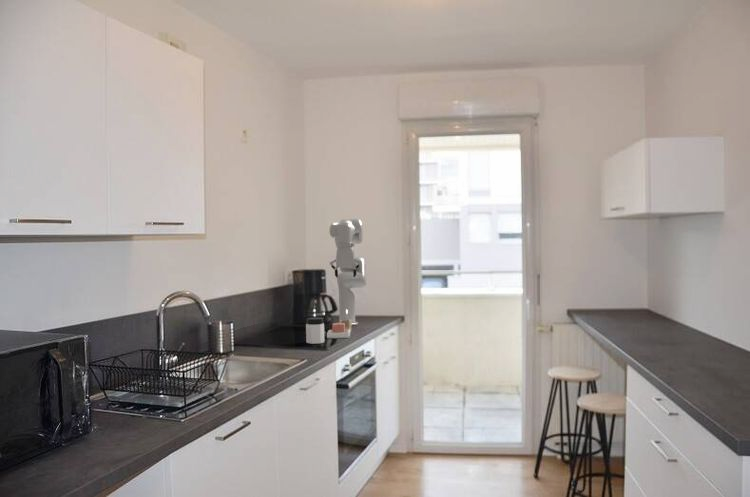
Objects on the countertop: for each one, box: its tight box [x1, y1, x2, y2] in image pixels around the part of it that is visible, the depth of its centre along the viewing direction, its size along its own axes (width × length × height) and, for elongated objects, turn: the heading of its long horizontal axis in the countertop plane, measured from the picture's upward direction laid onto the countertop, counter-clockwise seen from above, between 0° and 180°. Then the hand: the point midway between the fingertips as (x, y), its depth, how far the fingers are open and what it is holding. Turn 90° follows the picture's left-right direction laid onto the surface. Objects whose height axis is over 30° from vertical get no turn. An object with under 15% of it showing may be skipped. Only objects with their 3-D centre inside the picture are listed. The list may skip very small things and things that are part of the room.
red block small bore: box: [331, 322, 345, 333], centre depth 315 cm, size 6×6×6 cm
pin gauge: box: [343, 310, 348, 321], centre depth 333 cm, size 3×3×12 cm
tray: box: [326, 329, 351, 339], centre depth 315 cm, size 11×11×3 cm
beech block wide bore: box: [339, 319, 352, 333], centre depth 333 cm, size 6×6×6 cm
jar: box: [305, 317, 325, 345], centre depth 297 cm, size 9×8×12 cm
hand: (345, 277), depth 332 cm, fingers open, 9 cm apart
